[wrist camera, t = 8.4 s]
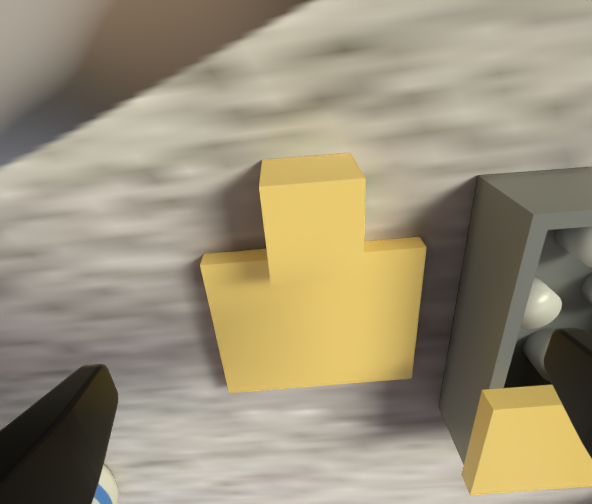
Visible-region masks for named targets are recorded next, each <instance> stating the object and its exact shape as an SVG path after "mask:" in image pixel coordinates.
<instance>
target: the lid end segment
mask: <svg viewBox="0 0 592 504" xmlns="http://www.w3.org/2000/svg"><path fill="white" fill-rule="evenodd" d="M365 189H366V178H365V176H364V174H363V173H362V171H361V169H360V168H359V166H358V164H357V162H356V161H355V159H354V157H353V156H352V154H351V153H342V154H329V155H317V156H304V157H292V158H279V159H267V160H262V165H261V174H260V182H259V192H260V200H261V208H262V216H263V224H264V232H265V240H266V249H258V250H246V251H233V252H220V253H208V254H204V255H203V258H202V261H201V264H200V268H201V272H202V277H203V281H204V285H205V290H206V294H207V299H208V303H209V307H210V312H211V316H212V321H213V325H214V329H215V334H216V338H217V343H218V347H219V351H220V356H221V360H222V365H223V369H224V373H225V378H226V382H227V387H228V391H229V393H237V392H249V391H262V390H274V389H287V388H299V387H312V386H324V385H337V384H350V383H362V382H375V381H387V380H400V379H412V371H413V362H414V353H415V344H416V336H417V327H418V318H419V309H420V300H421V292H422V283H423V274H424V265H425V256H426V246H425V244H424V243H423V242H422V240H421V239H420V237H410V238H397V239H385V240H372V241H364V235H365Z"/></svg>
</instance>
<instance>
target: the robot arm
mask: <svg viewBox="0 0 592 504" xmlns="http://www.w3.org/2000/svg"><path fill="white" fill-rule="evenodd" d="M543 363H544V368H545V371H546V373H547V375H548V377H549V379H550V381H551V383H552V385H553V387H554V389H555V391H556V393H557V395H558V397H559V399H560V401H561V403H562V405H563V407H564V409H565V411H566V413H567V415H568V417H569V419H570V421H571V423H572V425H573V427H574V429H575V431H576V433H577V435H578V436H579V438H580V440H581V442H582V444H583V445H584V447H585V449H586V450H587V452H588V454H589V455H590V457H591V459H592V334H591V333H589V332H587V331H584V330H582V329H580V328H575V327H572V328H559V329H556V330H555V331H554V332H553V333H552V335H551V338H550V341H549V344H548V347H547V349H546V352H545V355H544V362H543ZM117 405H118V392H117V389H116V387H115V385H114V382H113V380H112V377H111V375H110V373H109V370H108V368H107V367H106V366H105V365H103V364H95V365H85V366H82V367H80V368H79V369H78V370H76V371H75V372H74V373H73V374H71V375H70V376H69V377H67V378H66V379H65V380H64V381H62V382H61V383H60V384H59V385H57V386H56V387H55V388H54V389H52V390H51V391H50V392H49V393H47V394H46V395H45V396H44V397H42V398H41V399H40V400H38V401H37V402H36V403H35V404H33V405H32V406H31V407H30V408H28V409H27V410H26V411H25V412H23V413H22V414H21V415H20V416H18V417H17V418H16V419H15V420H13V421H12V422H11V423H9V424H8V425H7V426H6V427H4V428H3V429H2V430H1V431H0V504H92V501H93V498H94V495H95V492H96V489H97V486H98V483H99V480H100V476H101V472H102V468H103V464H104V460H105V456H106V452H107V447H108V443H109V439H110V435H111V430H112V426H113V422H114V418H115V413H116V409H117Z"/></svg>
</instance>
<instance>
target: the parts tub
mask: <svg viewBox="0 0 592 504" xmlns="http://www.w3.org/2000/svg"><path fill="white" fill-rule="evenodd" d="M572 327H575V328H580V329H582V330H584V331H587V332H589V333H591V334H592V167H583V168H569V169H556V170H542V171H529V172H515V173H502V174H488V175H478V177H477V183H476V189H475V195H474V201H473V207H472V213H471V219H470V224H469V230H468V236H467V242H466V248H465V254H464V260H463V266H462V272H461V278H460V284H459V290H458V295H457V301H456V307H455V313H454V319H453V325H452V331H451V337H450V343H449V349H448V355H447V360H446V366H445V372H444V378H443V384H442V390H441V396H440V402H439V409H440V411H441V413H442V416H443V418H444V420H445V423H446V425H447V427H448V430H449V432H450V434H451V437H452V439H453V441H454V444H455V446H456V448H457V451H458V453H459V455H460V458H461V460H462V462H463V465H464V467H463V471H462V477H463V479H464V482H465V484H466V486H467V489H468V491H469V494H470V495H483V494H496V493H509V492H522V491H535V490H549V489H562V488H575V487H588V486H592V459H591V457H590V455H589V454H588V452H587V450H586V449H585V447H584V445H583V444H582V442H581V440H580V438H579V436H578V435H577V433H576V431H575V429H574V427H573V425H572V423H571V421H570V419H569V417H568V415H567V413H566V411H565V409H564V407H563V405H562V403H561V401H560V399H559V397H558V395H557V393H556V391H555V389H554V387H553V385H552V383H551V381H550V379H549V377H548V375H547V373H546V371H545V368H544V363H543V362H544V355H545V352H546V349H547V347H548V344H549V341H550V338H551V335H552V333H553V332H554V331H555V330H556V329H559V328H572Z"/></svg>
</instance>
